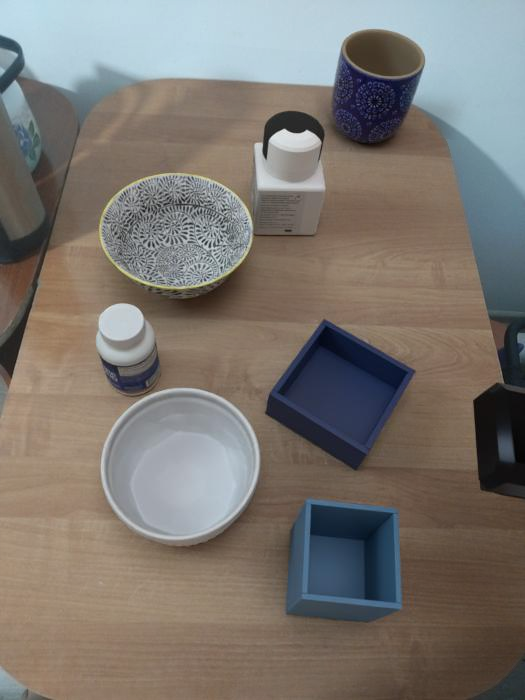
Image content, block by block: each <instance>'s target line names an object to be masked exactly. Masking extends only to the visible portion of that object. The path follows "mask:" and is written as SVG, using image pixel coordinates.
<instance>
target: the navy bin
mask: <svg viewBox="0 0 525 700" xmlns="http://www.w3.org/2000/svg"><path fill="white" fill-rule="evenodd" d="M415 373H416V370H415V369H414V368H412V367H410V366H409V365H407V364H405V363H403V362H401V361H400V360H398V359H396V358H394V357H393V356H391V355H389V354H388V353H385V352H384V351H382V350H380V349H378V348H377V347H375V346H373V345H371V344H370V343H368V342H366V341H364V340H363V339H361V338H359V337H357V336H356V335H354V334H352V333H350V332H348V331H346V330H345V329H343V328H341V327H340V326H338V325H336V324H334V323H332V322H331V321H329V320H328V319H325V318H323V319H322V320H321V322H320V324H319V325H318V326H317V327H316V329H315V331H314V332H313V333H312V335H311V336H310V337H309V339H308V340H307V341H306V343H305V344H304V345H303V346H302V348H301V350H299V352H298V353H297V354H296V357H294V359H293V360H292V361H291V363H290V365H289V366H288V367H287V369H285V371H284V372H283V374H282V375H281V377H280V378H279V379H278V381H277V382H276V383H275V385H274V386H273V387H272V389H271V390H270V392H269V393H268V397H267V403H266V407H265V415H267V416H268V417H270V418H272V419H273V420H275V421H276V422H278V423H279V424H281V425H283V426H285V427H286V428H287V429H289V430H291V432H294V433H295V434H297V435H299V436H300V437H302V438H303V439H305V440H307V441H308V442H310V443H311V444H313V445H315V446H316V447H318V448H320V449H321V450H323V451H324V452H326V453H327V454H329V455H331V456H332V457H334V458H335V459H337V460H338V461H340V462H341V463H343V464H345V465H346V466H348V467H349V468H351V469H352V470H354V471H358V469H359V468H360V466H361V464H362V463H363V462H364V460H365V458H366V457H367V455H368V454H369V452H370V451H371V448H372V447H373V445H374V443H375V442H376V440H377V438H378V437H379V435H380V434H381V432H382V430H383V429H384V427H385V425H386V423H387V421H388V419H390V416H391V414H392V413H393V411H394V409H395V407H396V406H397V404H398V402H399V401H400V399H401V398H402V396H403V394H404V393H405V391H406V389H407V387H408V386H409V384H410V382H411V381H412V378H413V377H414V375H415Z"/></svg>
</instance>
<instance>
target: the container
mask: <svg viewBox="0 0 525 700" xmlns="http://www.w3.org/2000/svg"><path fill="white" fill-rule="evenodd" d="M263 128H264V129H263V138H262V142H255V143H254V146H253V158H252V168H251V169H252V170H251V183H250V198H251V199H250V200H251V212H252V213H251V214H252V215H251V216H252V222H253V228H254V235H263V236H265V235H266V236H267V235H271V236H273V235H274V236H275V235H276V236H314V235H316V234H317V230H318V225H319V222H320V217H321V212H322V208H323V203H324V199H325V196H326V190H327V188H326V187H327V186H326V181H325V180H326V179H325V176H324V175H325V173H324V168H323V161H322V150H323V146H324V140H325V130H324V128H323V125H322V124H321V122H320V121H318V119H316V118H315V117H314V116H313V115H311V114H308V113H306V112H302V111H299V110H284V111H280V112H278V113H276V114H274V115H272V116H271V117H270V118H268V120H267V121H266V122H265V124H264V127H263Z"/></svg>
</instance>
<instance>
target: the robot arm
mask: <svg viewBox="0 0 525 700" xmlns="http://www.w3.org/2000/svg"><path fill="white" fill-rule="evenodd" d="M472 406H473V407H472V409H473V418H474V419H473V420H474V434H475V448H476V449H475V450H476V463H477V464H476V465H477V476H478V481H479V489H480V491H482V492H487V493H492V494H495V495H499V496H502V497H508V498H513V499H519V500H523V501H524V500H525V387H521V386H516V385H511V384H508V383H504V382H503V383H502V382H498V381H497V382H495V383H494V384H492V385H491V386H490V387H489V388H487V389H486V390H484V391H483V392H481V393H480V394H479V395H477V396H476V397H475V398H474V399H473V400H472Z"/></svg>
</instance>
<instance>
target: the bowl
mask: <svg viewBox="0 0 525 700" xmlns="http://www.w3.org/2000/svg"><path fill="white" fill-rule="evenodd" d="M98 232H99V240H100V244H101V247H102V249H103V252H104V254H105V255H106V257H107V258H108V259H109V261H110V263H112V264H113V265H114V266H115V268H117V269H118V270H119V271H120V272H121V273H122V274H124V275H125V276H126V277H128V279H129V280H130V281H132V282H133V283H134V284H135V285H136V286H138V287H139V288H141V289H142V290H144V291H146V292H148V293H150V294H153V295H155V296H158V297H162V298H167V299H173V300H174V299H175V300H176V299H177V300H178V299H179V300H180V299H183V300H184V299H189V298H191V299H192V298H195V297H199V296H202V295H205V294H207V293H209V292H211V291H213V290H215V289H216V288H218V286H220V285H222V284H223V283H224V282H225V281H226V280H227V279H228V278H230V276H231V275H232V273H233V272H234V271H235V270H237V268H239V266H241V264H242V263H243V262H244V261H245V259H246V257H247V256H248V254H249V252H250V249H251V247H252V245H253V241H254V235H255V234H254V228H253V217H252V215H251V213H250V210H249V209H248V207H247V206H246V204H245V203H244V201H243V200H242V199H241V197H239V196H238V195H237V194H236V193H235V192H234V191H233V190H232V189H230V188H228V187H227V186H225V185H224V184H222V183H220V182H218V181H216V180H213V179H211V178H208V177H205V176H202V175H198V174H194V173H193V174H192V173H184V172H167V173H160V174H154V175H150V176H146V177H143V178H140V179H138V180H136V181H133V182H131V183H129V184H128V185H126V186H125V187H123V188H122V189H120V190H119V191H118V192H117V193H116V194H114V195H113V197H112V198H111V199H110V200H109V201H108V203H107V204H106V206H105V208H104V210H103V211H102V214H101V216H100V220H99V228H98Z"/></svg>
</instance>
